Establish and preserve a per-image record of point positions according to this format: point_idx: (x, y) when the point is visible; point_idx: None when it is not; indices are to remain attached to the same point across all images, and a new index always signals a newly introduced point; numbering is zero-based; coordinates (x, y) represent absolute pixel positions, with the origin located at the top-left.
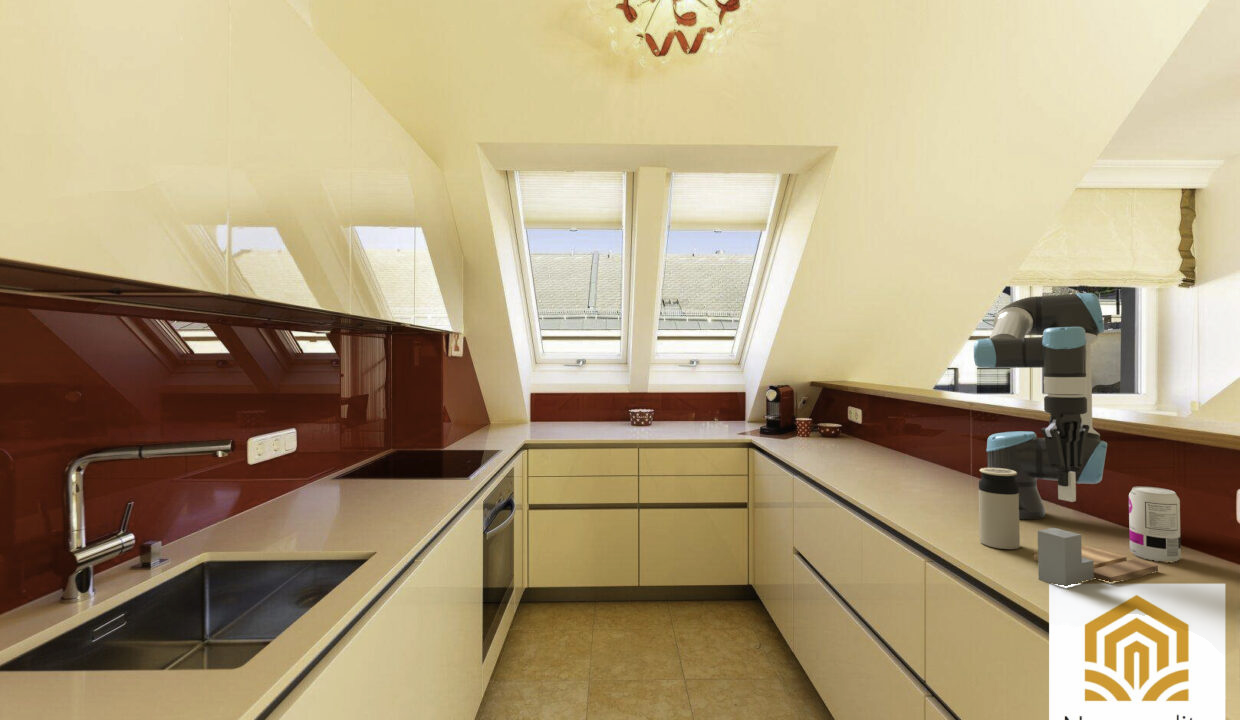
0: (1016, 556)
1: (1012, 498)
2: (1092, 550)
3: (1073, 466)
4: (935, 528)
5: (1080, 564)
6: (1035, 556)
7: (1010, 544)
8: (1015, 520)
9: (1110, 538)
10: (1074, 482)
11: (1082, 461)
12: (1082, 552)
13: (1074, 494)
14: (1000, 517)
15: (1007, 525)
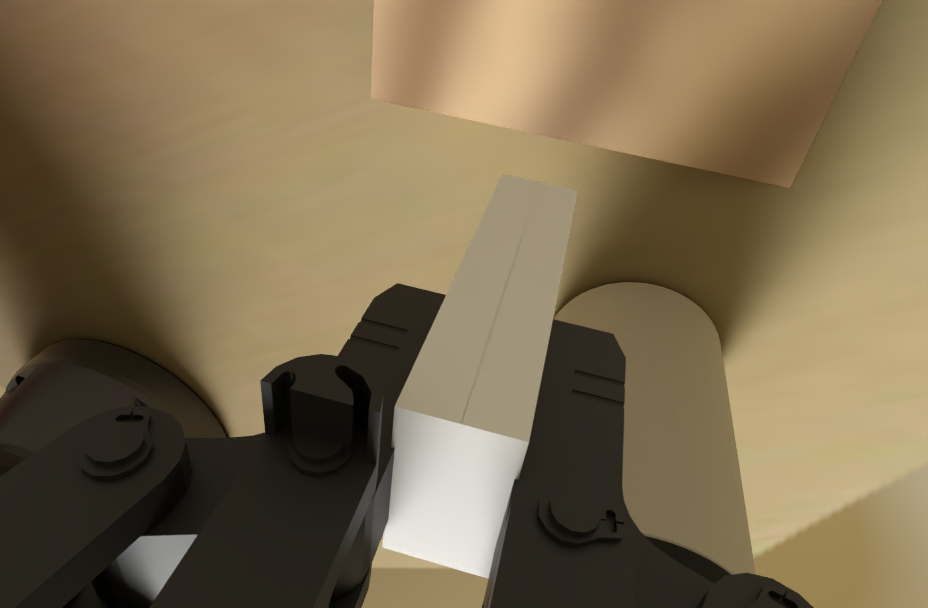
0: (777, 249)
1: (688, 520)
2: (426, 6)
3: (360, 518)
4: None
5: None
6: (792, 175)
7: (692, 313)
8: (663, 387)
9: (58, 66)
10: (477, 298)
11: (7, 499)
12: (519, 27)
13: (515, 213)
14: (732, 452)
15: (709, 391)
